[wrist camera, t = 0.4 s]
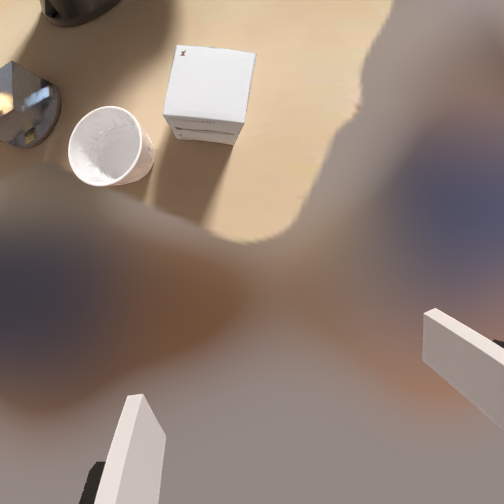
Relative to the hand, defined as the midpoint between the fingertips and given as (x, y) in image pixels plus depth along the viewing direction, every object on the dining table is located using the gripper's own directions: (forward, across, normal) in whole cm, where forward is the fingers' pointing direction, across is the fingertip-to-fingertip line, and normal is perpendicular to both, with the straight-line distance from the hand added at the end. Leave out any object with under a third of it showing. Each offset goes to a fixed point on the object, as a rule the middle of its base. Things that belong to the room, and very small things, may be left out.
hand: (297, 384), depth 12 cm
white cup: (+28, -11, +16) cm, 34 cm away
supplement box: (+28, 0, +18) cm, 33 cm away
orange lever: (+25, -27, +27) cm, 45 cm away
